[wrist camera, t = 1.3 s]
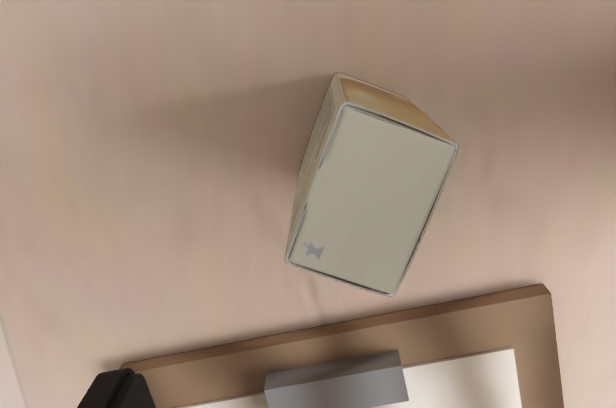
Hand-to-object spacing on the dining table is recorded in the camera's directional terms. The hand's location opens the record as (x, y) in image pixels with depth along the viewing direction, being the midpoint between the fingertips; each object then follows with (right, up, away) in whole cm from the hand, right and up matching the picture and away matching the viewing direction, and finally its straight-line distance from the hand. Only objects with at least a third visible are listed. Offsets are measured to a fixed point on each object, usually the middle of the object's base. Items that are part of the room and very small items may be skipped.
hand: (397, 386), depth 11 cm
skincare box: (+1, +7, +21) cm, 22 cm away
